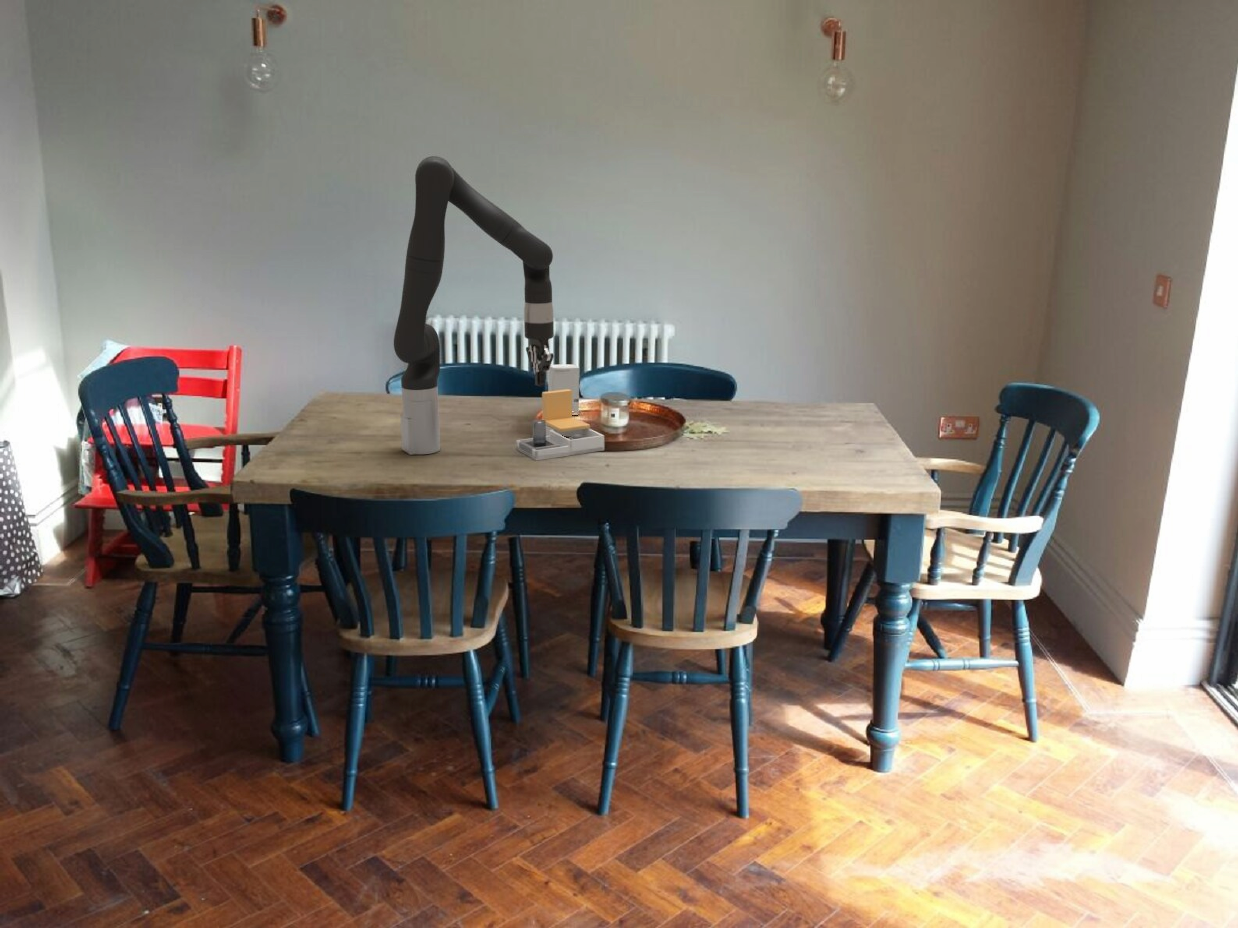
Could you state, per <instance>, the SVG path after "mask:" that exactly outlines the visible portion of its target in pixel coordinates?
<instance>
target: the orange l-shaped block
mask: <svg viewBox="0 0 1238 928" xmlns="http://www.w3.org/2000/svg"><path fill="white" fill-rule="evenodd" d="M541 401H542V402H541V403H542V404H541V407H542V419H540V420H545V421H546V425H548V426H550V427H552V428H554V429H556V430H558V431H560V432H563V431H571V430H578V429H585V428H589V429H591V424H589V423H587V422H584V421H583V420H581V419H578V418H576V417H575V416H572V390H569V389H565V390H557V391H542V393H541Z"/></svg>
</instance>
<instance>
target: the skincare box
mask: <svg viewBox="0 0 1238 928" xmlns="http://www.w3.org/2000/svg"><path fill="white" fill-rule="evenodd" d="M565 389H569V390H572V411H574V412H575V413H577V414H579V409H580V406H579V405H580V403H579V402H580V366H578V365H577V364H573V363H571V364H564V363H562V364H551V365H550V368H549V370H548V391H557V390H565ZM548 391H547V392H548Z"/></svg>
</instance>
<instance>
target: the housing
mask: <svg viewBox="0 0 1238 928" xmlns="http://www.w3.org/2000/svg"><path fill="white" fill-rule="evenodd" d="M562 435H563V436H562ZM564 436H571V437H569V438H566V437H564ZM546 444H547V446H543V447H536V448H533V447H532V445H533V437H531V438H523V439H516V440H515V449H516V450H517V451H518V452H520V453H522V454H523V455H525V456H526V457H529V458H530V459H532V460H534V461H542V460H549V459H554V458H556V459H557V458H561V457H562V458H563V457H567V456H568V457H569V456H570V457H571V456H576V455H582V454H588V453H590V454H591V453H595V452H601V451H602V452H603V451H605V435H604V434H602V433H600V432H598V431H595V430H593V429H592V428H585V429H578V430H571V431H563V432H560V431H558V430H556V429H554V428H552V427H550V426H548V425H546Z"/></svg>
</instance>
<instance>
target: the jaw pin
mask: <svg viewBox="0 0 1238 928" xmlns="http://www.w3.org/2000/svg"><path fill="white" fill-rule="evenodd" d="M532 438H533V445H532V447H533V448H536V447H543V446H547V444H546V421H545V420H541V419H534V420H532Z"/></svg>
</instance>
